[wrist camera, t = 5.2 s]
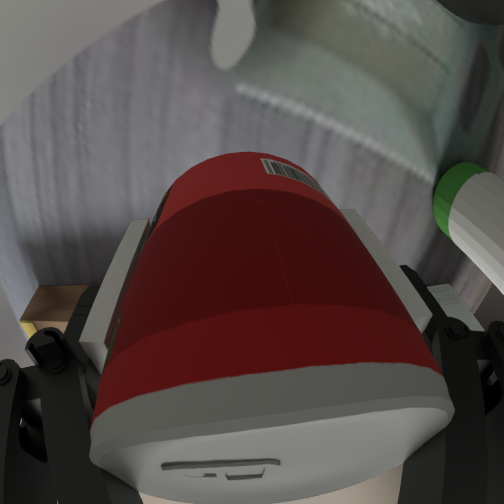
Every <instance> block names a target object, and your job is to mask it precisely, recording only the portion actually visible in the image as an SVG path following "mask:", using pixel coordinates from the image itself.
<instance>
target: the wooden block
mask: <svg viewBox="0 0 504 504" xmlns="http://www.w3.org/2000/svg"><path fill="white" fill-rule="evenodd" d="M90 285H101V284H84V285H58V286H39V287H38V289H37V290H36V292H35V294H34V295H33V297H32V299H31V301H30V302H29V304H28V306H27V308H26V310H25V311H24V313H23V315H22V317H21V319H20V321H21V322H20V323H21V325H22V327H23V328H24V330H25V332H26V333H27V335H28V336H29V338H30V337H31V336H32V335H33V334H34V333H36V332H37V331H39V330H41V329H43V328H47V327H54V328H58V329H59V330H60V331H61V332H63V334H64V332H65V329H66V327H67V325H68V322H69V320H70V318H71V316H72V313H73V311H74V308H75V307H76V304H77V302H78V300H79V298H80V295H81V294H82V293H83V292H84V291H85V290H86V289H87V288H88V287H89V286H90Z"/></svg>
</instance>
